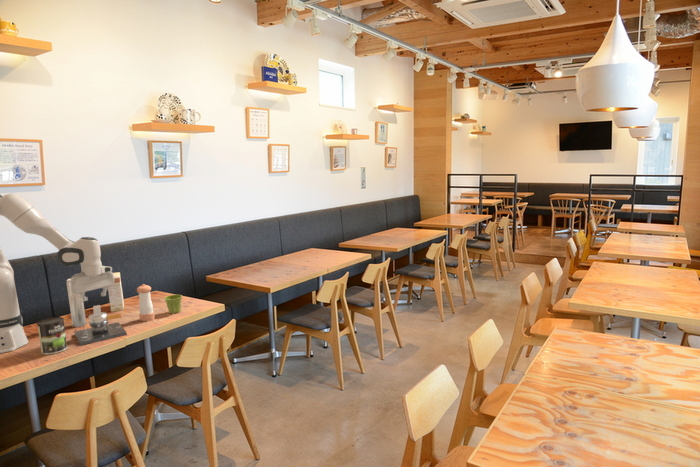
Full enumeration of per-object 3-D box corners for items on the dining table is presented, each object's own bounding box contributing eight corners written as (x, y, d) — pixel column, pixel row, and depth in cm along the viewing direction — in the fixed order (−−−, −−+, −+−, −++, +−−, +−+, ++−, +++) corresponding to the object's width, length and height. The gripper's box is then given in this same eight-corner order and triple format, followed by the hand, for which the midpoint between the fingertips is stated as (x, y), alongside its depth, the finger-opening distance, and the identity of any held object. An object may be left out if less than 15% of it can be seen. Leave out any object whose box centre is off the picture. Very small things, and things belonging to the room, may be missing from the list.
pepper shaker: (154, 316, 259) (150, 281, 256) (154, 320, 253) (150, 285, 250) (140, 318, 257) (136, 283, 254) (139, 322, 250) (135, 286, 247)
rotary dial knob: (89, 328, 227) (87, 311, 226) (89, 322, 236) (87, 305, 235) (121, 323, 234) (119, 305, 232) (120, 317, 243) (118, 300, 241)
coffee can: (72, 347, 218) (68, 318, 216) (49, 356, 209) (44, 325, 207) (59, 344, 223) (55, 315, 221) (36, 352, 214) (31, 322, 212)
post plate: (80, 345, 221) (78, 335, 220) (74, 334, 236) (73, 324, 235) (126, 334, 232) (125, 324, 231) (118, 324, 247) (117, 315, 247)
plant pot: (178, 314, 260) (176, 299, 258) (162, 314, 261) (160, 299, 260) (186, 309, 269) (185, 294, 267) (171, 309, 270) (170, 294, 269)
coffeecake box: (111, 305, 284) (107, 273, 281) (124, 303, 287) (120, 271, 284) (110, 312, 270) (106, 278, 267) (124, 309, 273) (120, 276, 270)
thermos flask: (82, 327, 247) (75, 280, 243) (69, 327, 247) (63, 280, 243) (89, 322, 253) (83, 276, 249) (77, 323, 253) (70, 277, 250)
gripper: (74, 275, 219) (77, 304, 221) (115, 267, 237) (117, 294, 239) (66, 274, 222) (69, 303, 224) (107, 266, 240) (109, 292, 242)
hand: (94, 298), depth 231 cm, fingers open, 8 cm apart
